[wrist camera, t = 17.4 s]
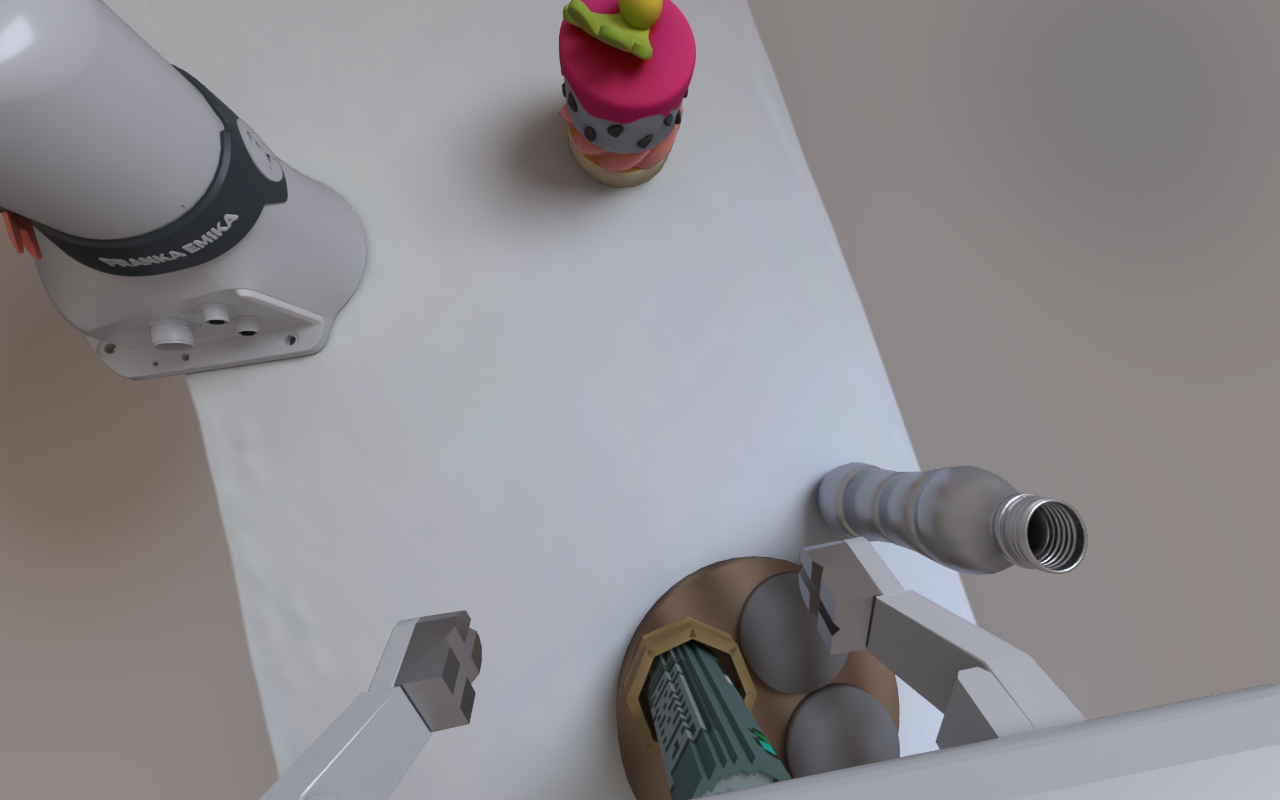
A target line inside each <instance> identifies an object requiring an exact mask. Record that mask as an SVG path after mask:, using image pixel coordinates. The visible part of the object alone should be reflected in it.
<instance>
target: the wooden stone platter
mask: <svg viewBox="0 0 1280 800" xmlns="http://www.w3.org/2000/svg"><path fill="white" fill-rule="evenodd" d="M801 569H802V566H799V565H797V564H794V563H791V562H788V561H784V560H779V559H774V558H769V557H741V558H733V559H728V560H724V561H720V562H716V563H714V564H711V565H708V566H706V567H703V568H701V569H699V570H697V571H695V572H694V573H692V574H690V575H688V576H686V577H685V578H683V579H682V580H681V581H679V582H678V583H676V584H675V585H674V586H672V587H671V588H670V589H669V590H668V591H667V592H666V593H665V594H664V595H663V596H662V597H661V598H659V599H658V601H657V602H656V603H655V604H654V605H653V607H652V608H651V609H650V610H649V612H648V613H647V614H646V615H645V617H644V619H643V620H642V622H641V623H640V625H639V627H638V628H637V630H636V632H635V634H634V636H633V638H632V640H631V642H630V644H629V646H628V649H627V652H626V655H625V658H624V661H623V664H622V668H621V673H620V678H619V683H618V690H617V703H616V710H617V729H618V739H619V745H620V751H621V757H622V762H623V765H624V769H625V772H626V775H627V778H628V782H629V784H630V786H631V788H632V790H633V793H634V795H635V797H636V799H637V800H672V796H671V792H670V788H669V784H668V780H667V776H666V771H665V767H664V763H663V759H662V755H661V750H660V746H659V742H658V738H657V734H656V730H655V725H654V721H653V717H652V713H651V709H650V705H649V700H648V696H647V692H646V688H645V684H646V682H647V674H648V671H649V669H650V666H651V664H652V661H653V659H654V657H655V656H657V655H659V654H661V653H663V652H665V651H668V650H670V649H672V648H674V647H676V646H678V645H680V644H682V643H684V642H687V643H689V642H690V640H691V639H692V640H694V641H696V642H697V643H699V644H701V645H703V646H705V647H706V648H708V649H710V650H712V652H713V653H714V655H715V656H716V658H717V660H718V661H719V662H720V664H721V666H722V667H723V669H724V670H725V672H726V674H727V675H728V677H729V679H730V680H731V682H732V683H733V685H734V687H735V688H736V690H737V691H738V693H739V695H740V696H741V698H742V700H743V701H744V703H745V704H746V706H747V708H748V709H749V711H750V712H751V714H752V716H753V717H754V719H755V720H756V722H757V724H758V725H759V727H760V729H761V730H762V732H763V733H764V735H765V737H766V738H767V740H768V741H769V743H770V745H771V746H772V748H773V750H774V751H775V753H776V754H777V756H778V758H779V759H780V761H781V762H782V764H783V766H784V767H785V769H786V770H787V772H788V774H789V775H790V777H791V779H795V778H800V777H805V776H810V775H815V774H820V773H825V772H830V771H835V770H840V769H845V768H850V767H855V766H860V765H865V764H870V763H875V762H880V761H885V760H890V759H895V758H899V756H900V746H899V738H898V731H899V697H898V688H897V682H896V678H895V674H894V673H893V672H892V671H891V670H890V669H888V668H887V667H886V666H885V665H883V664H882V663H881V662H880V661H878V660H877V659H876V658H875V657H874V656H872V655H871V654H870V653H869V652H867V649H864V650H858V651H851V652H845V653H839V654H833V655H830V653H829V651H828V649H827V647H826V645H825V643H824V641H823V639H822V637H821V635H820V633H819V631H818V629H817V625H818V617H816V616H815V615H813V614H812V613H810V612H809V611H808V609H807V606H806V604H805V602H804V600H803V597H802V594H801V590H800V585H799V571H800V570H801Z"/></svg>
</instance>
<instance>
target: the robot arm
mask: <svg viewBox="0 0 1280 800" xmlns="http://www.w3.org/2000/svg"><path fill="white" fill-rule="evenodd" d="M0 212H1V213H2V215H3V218H4V221H5V224H6V228H7V231H8V234H9V237H10V239H11V241H12V243H13V245H14V247H15V249H16V251H17V253H20V254H22V253H23V252H24V248H23V245H24V246H25V247H26V249H27V250H28V251H29V252H30V253H31V255H32V256H33V257H34V259H35V263H36V266H37V269H38V272H39V275H40V278H41V281H42V283H43V285H44V288H45V290H46V292H47V294H48V296H49V297H50V299H51V301H52V302H53V304H54V306H55V307H56V308H57V310H58V311H59V313H60V314H61V315H62V316H63V317H64V318H65V319H66V320H67V321H68V322H69V323H70V324H71V325H72V326H74V327H75V328H76V329H78V330H79V331H81V332H83V333H84V335H85V337H86V339H87V341H88V342H89V344H90V345H91V347H92V349H93V350H94V351H95V353H96V354H97V355H98V356H99V358H100V359H101V360H102V361H103V362H104V363H105V364H106V365H107V366H109V367H110V368H111V369H112V370H113V371H115V372H116V373H118V374H119V375H121V376H123V377H125V378H129V379H133V380H146V379H153V378H160V377H166V376H173V375H180V374H186V373H193V372H200V371H206V370H213V369H219V368H226V367H232V366H239V365H246V364H252V363H259V362H265V361H272V360H279V359H285V358H292V357H298V356H305V355H311V354H315V353H317V352H319V351H320V350H321V349H322V348H323V347H324V345H325V344H326V342H327V339H328V336H329V333H330V330H331V327H332V323H333V320H334V318H335V316H336V315H337V313H338V312H339V311H340V309H341V308H342V307H343V306H344V305H345V304H346V302H347V301H348V300H349V299H350V297H351V296H352V295H353V293H354V291H355V290H356V288H357V286H358V284H359V282H360V280H361V277H362V274H363V271H364V267H365V261H366V241H365V235H364V231H363V228H362V225H361V223H360V221H359V219H358V217H357V215H356V213H355V212H354V210H353V209H352V207H351V206H350V205H349V204H348V203H347V201H346V200H345V199H344V198H343V197H342V196H340V195H339V194H338V193H337V192H335V191H334V190H333V189H331V188H330V187H328V186H326V185H324V184H323V183H320V182H318V181H316V180H314V179H312V178H310V177H308V176H306V175H304V174H302V173H300V172H299V171H297V170H296V169H294V168H292V167H291V166H289V165H288V164H287V163H285V162H284V161H282V160H281V159H280V158H278V157H277V156H276V155H274V153H273V152H272V151H271V149H270V148H269V147H268V146H267V145H266V143H265V142H264V141H263V140H262V139H261V138H260V137H259V135H258V134H257V133H256V132H255V131H254V130H253V129H252V128H251V127H250V126H249V125H248V124H247V123H245V122H244V121H243V120H242V119H240V118H239V117H238V116H237V115H236V114H235V113H234V112H233V111H232V110H231V109H229V108H228V107H227V106H226V105H225V104H224V103H223V102H222V101H221V100H219V99H218V98H217V97H216V96H215V95H214V94H213V93H212V92H210V91H209V90H208V89H207V88H206V87H205V86H204V85H203V84H201V83H200V82H199V81H198V80H197V79H196V78H194V77H193V76H191V75H190V74H188V73H187V72H186V71H184V70H182V69H180V68H178V67H176V66H174V65H172V64H170V63H169V62H168V61H167V60H165V59H164V58H163V57H162V56H161V55H160V54H159V53H158V52H157V51H156V50H155V49H154V48H152V47H151V46H150V45H149V44H148V43H147V42H146V41H145V40H144V39H143V38H142V37H141V36H140V35H139V34H137V33H136V32H135V31H134V30H133V29H132V28H131V27H130V26H129V25H128V24H127V23H126V22H125V21H123V20H122V19H121V18H120V17H119V16H118V15H117V14H116V13H115V12H114V11H113V10H112V9H110V8H109V7H108V6H107V5H106V4H105V3H104V2H103V1H102V0H0ZM294 337H295V338H296V341H295V343H294V344H293V345H291V344H290V340H291V339H292V338H294ZM115 347H116V351H115V352H113V350H114V348H115ZM799 559H800V561H801V563H802V565H803V567H802V569H801V570H800V571H799V585H800V590H801V594H802V597H803V600H804V602H805V604H806V606H807V609H808V611H809V612H810V613H812V614H813V615H815V616H816V617H818V625H817V629H818V631H819V633H820V635H821V637H822V639H823V641H824V643H825V645H826V647H827V649H828V651H829V653H830V655H833V654H839V653H845V652H851V651H858V650H864V649H867V652H869V653H870V654H871V655H872V656H874V657H875V658H876V659H877V660H878V661H880V662H881V663H882V664H883V665H885V666H886V667H887V668H888V669H890V670H891V671H892V672H893V673H894V674H896V675H897V676H898V677H899V678H901V679H902V680H903V681H904V682H905V683H907V684H908V685H909V686H910V687H912V688H913V689H914V690H915V691H916V692H918V693H919V694H920V695H921V696H923V697H924V698H925V699H926V700H928V701H929V702H930V703H931V704H932V705H934V706H935V707H936V708H937V709H939V710H940V711H941V712H942V713H943V714H944V718H943V721H942V724H941V727H940V730H939V733H938V736H937V739H936V743H937V745H938V747H939V748H940V750H935V751H930V752H925V753H920V754H915V755H910V756H905V757H900V758H895V759H890V760H885V761H880V762H875V763H870V764H865V765H860V766H855V767H850V768H845V769H840V770H835V771H830V772H825V773H820V774H815V775H810V776H805V777H800V778H795V779H790V780H785V781H780V782H775V783H770V784H764V785H759V786H754V787H749V788H744V789H739V790H734V791H729V792H724V793H719V794H714V795H709V796H704V797H699V798H694V799H689V800H1280V683H1279V684H1268V685H1260V686H1256V687H1251V688H1245V689H1241V690H1236V691H1231V692H1227V693H1221V694H1216V695H1211V696H1206V697H1201V698H1196V699H1191V700H1187V701H1181V702H1176V703H1171V704H1166V705H1161V706H1156V707H1151V708H1146V709H1141V710H1136V711H1131V712H1126V713H1121V714H1116V715H1111V716H1105V717H1101V718H1096V719H1090V720H1086V719H1085V718H1084V716H1083V715H1082V714H1081V713H1080V712H1079V711H1078V710H1077V709H1076V707H1074V705H1073V704H1072V703H1071V702H1070V701H1069V700H1068V698H1067V697H1066V696H1065V695H1064V694H1063V693H1062V692H1061V691H1060V690H1059V688H1058V687H1057V686H1056V685H1055V684H1054V683H1053V682H1052V680H1051V679H1050V678H1049V677H1048V676H1047V675H1046V674H1045V673H1044V672H1043V670H1042V669H1041V668H1040V667H1039V666H1038V665H1037V664H1036V662H1035V661H1034V660H1033V659H1032V658H1031V657H1030V656H1029V655H1028V654H1026V653H1024V652H1022V651H1020V650H1019V649H1017V648H1015V647H1013V646H1011V645H1010V644H1008V643H1006V642H1004V641H1002V640H1001V639H999V638H997V637H995V636H994V635H992V634H990V633H988V632H986V631H985V630H983V629H981V628H979V627H977V626H976V625H974V624H972V623H970V622H968V621H967V620H965V619H963V618H961V617H959V616H958V615H956V614H954V613H952V612H950V611H949V610H947V609H945V608H943V607H941V606H940V605H938V604H936V603H934V602H933V601H931V600H929V599H927V598H925V597H924V596H922V595H920V594H918V593H916V592H915V591H913V590H908V591H905V590H904V588H903V587H902V586H901V584H900V583H899V582H898V580H897V579H896V578H895V576H894V575H893V574H892V572H891V571H890V570H889V568H888V567H887V565H886V564H885V563H884V561H883V560H882V559H881V557H880V556H879V555H878V553H877V552H876V551H875V549H874V548H873V547H872V545H871V544H870V543H869V541H868V540H867V539H866V538H864V537H863V536H862V537H857V538H852V539H846V540H842V541H840V540H839V541H834V542H828V543H823V544H818V545H813V546H808V547H803V548H801V550H800V557H799ZM470 621H471V619H470V617H469V615H468V613H467V611H457V612H451V613H444V614H438V615H431V616H425V617H419V618H414V619H408V620H402V621H399V622H398V623H397V624H396V626H395V627H394V628H393V631H392V633H391V636H390V638H389V641H388V643H387V645H386V648H385V650H384V653H383V655H382V658H381V660H380V663H379V665H378V668H377V670H376V673H375V675H374V678H373V680H372V683H371V685H370V688H369V690H368V692H364V693H361V694H360V695H359V696H358V697H357V698H356V699H355V700H354V701H353V702H352V703H351V704H350V705H349V706H348V707H347V709H346V710H345V711H344V712H343V713H342V714H341V715H340V716H339V717H338V718H337V719H336V720H335V721H334V722H333V723H332V724H331V725H330V726H329V727H328V728H327V729H326V730H325V731H324V732H323V734H322V735H321V736H320V737H319V738H318V739H317V740H316V741H315V742H314V743H313V744H312V745H311V746H310V747H309V748H308V749H307V750H306V751H305V752H304V753H303V754H302V755H301V756H300V758H299V759H298V760H297V761H296V762H295V763H294V764H293V765H292V766H291V767H290V768H289V769H288V770H287V771H286V772H285V773H284V774H283V775H282V776H281V777H280V778H279V779H278V780H277V782H276V783H275V784H274V785H273V786H272V787H271V788H270V789H269V790H268V791H267V792H266V793H265V794H264V795H263V796H262V797H261V798H260V799H259V800H388V799H389V798H390V796H391V795H392V793H393V792H394V790H395V789H396V787H397V786H398V784H399V783H400V781H401V780H402V778H403V777H404V775H405V774H406V772H407V771H408V769H409V768H410V766H411V765H412V763H413V762H414V760H415V759H416V757H417V756H418V754H419V753H420V751H421V750H422V748H423V747H424V745H425V744H426V742H427V741H428V739H429V738H430V736H431V733H430V732H435V731H439V730H444V729H448V728H453V727H457V726H462V725H466V724H469V722H470V718H471V713H472V708H473V703H474V698H475V691H474V689H473V687H472V685H471V683H472V682H473V681H474V680H475V678H476V677H477V676H478V675H479V673H480V667H481V662H482V647H481V642H480V638H479V635H478V633H477V631H475V630H473V629H471V628H469V625H470Z"/></svg>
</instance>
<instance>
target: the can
mask: <svg viewBox="0 0 1280 800" xmlns="http://www.w3.org/2000/svg"><path fill="white" fill-rule="evenodd" d="M645 688H646V692H647V696H648V700H649V705H650V709H651V713H652V717H653V721H654V725H655V730H656V734H657V738H658V742H659V746H660V750H661V755H662V759H663V763H664V767H665V771H666V776H667V780H668V784H669V788H670V792H671V796H672V800H689V799H694V798H699V797H704V796H709V795H714V794H719V793H724V792H729V791H734V790H739V789H744V788H749V787H754V786H759V785H764V784H770V783H775V782H780V781H785V780H790V779H791V777H790V775H789V774H788V772H787V770H786V769H785V767H784V766H783V764H782V762H781V761H780V759H779V758H778V756H777V754H776V753H775V751H774V750H773V748H772V746H771V745H770V743H769V741H768V740H767V738H766V737H765V735H764V733H763V732H762V730H761V729H760V727H759V725H758V724H757V722H756V720H755V719H754V717H753V716H752V714H751V712H750V711H749V709H748V708H747V706H746V704H745V703H744V701H743V700H742V698H741V696H740V695H739V693H738V691H737V690H736V688H735V687H734V685H733V683H732V682H731V680H730V679H729V677H728V675H727V674H726V672H725V670H724V669H723V667H722V666H721V664H720V662H719V661H718V660H717V658H716V656H715V655H714V653H713V652H712V650H710V649H708V648H706V647H705V646H703V645H701V644H699V643H697V642H696V641H694V640H692V639H691V640H690V642H689V643H687V642H684V643H682V644H680V645H678V646H676V647H674V648H672V649H670V650H668V651H665V652H663V653H661V654H659V655H657V656H655V657H654V659H653V661H652V664H651V666H650V669H649V671H648V674H647V682H646V684H645Z"/></svg>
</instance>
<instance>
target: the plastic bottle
mask: <svg viewBox="0 0 1280 800" xmlns="http://www.w3.org/2000/svg"><path fill="white" fill-rule="evenodd" d="M818 505H819V509H820V512H821V515H822V517H823V519H824V520H825V522H826V523H827V524H828V525H829V526H830V527H831V528H832V529H833V530H835V531H836V532H838V533H839V534H841V535H842V536H844V537H846V538H848V539H852V538H857V537H862V536H863V537H864V538H866V539H867V540H868V541H881V542H887V543H894V544H897V545H899V546H902V547H905V548H907V549H910V550H913V551H916V552H918V553H920V554H921V555H923V556H925V557H927V558H929V559H931V560H933V561H935V562H937V563H939V564H941V565H943V566H945V567H947V568H950V569H952V570H955V571H957V572H960V573H962V574H969V575H981V574H994V573H997V572H1000V571H1002V570H1005V569H1007V568H1009V567H1011V566H1012V565H1017V566H1020V567H1023V568H1028V569H1038V570H1041V571H1045V572H1049V573H1057V574H1061V573H1066V572H1070V571H1071V570H1073V569H1075V568H1076V567H1077V566H1078V565H1079V564H1080V563H1081V561H1082V560H1083V558H1084V555H1085V553H1086V549H1087V542H1088V541H1087V540H1088V536H1087V530H1086V527H1085V524H1084V521H1083V519H1082V517H1081V516H1080V514H1079V513H1078V511H1077V510H1076V509H1075V508H1074V507H1072V506H1071V505H1070V504H1068V503H1066V502H1064V501H1062V500H1058V499H1054V498H1046V497H1040V496H1038V495H1034V494H1027V493H1019V492H1018V491H1017V490H1016V489H1015V488H1014V487H1013V486H1012V485H1011V484H1010V483H1009V482H1008V481H1007V480H1005V479H1004V478H1002V477H1000V476H999V475H997V474H994V473H992V472H989V471H987V470H984V469H982V468H979V467H974V466H957V467H948V468H941V469H934V470H928V471H922V472H896V471H890V470H884V469H881V468H878V467H876V466H873V465H869V464H865V463H859V462H856V463H849V464H845V465H842V466H838V467H836V468H834V469H833V470H831V471H830V472H829V473H828V474H827V475H826V476H825V478H824V479H823V481H822V483H821V485H820V488H819V493H818Z"/></svg>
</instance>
